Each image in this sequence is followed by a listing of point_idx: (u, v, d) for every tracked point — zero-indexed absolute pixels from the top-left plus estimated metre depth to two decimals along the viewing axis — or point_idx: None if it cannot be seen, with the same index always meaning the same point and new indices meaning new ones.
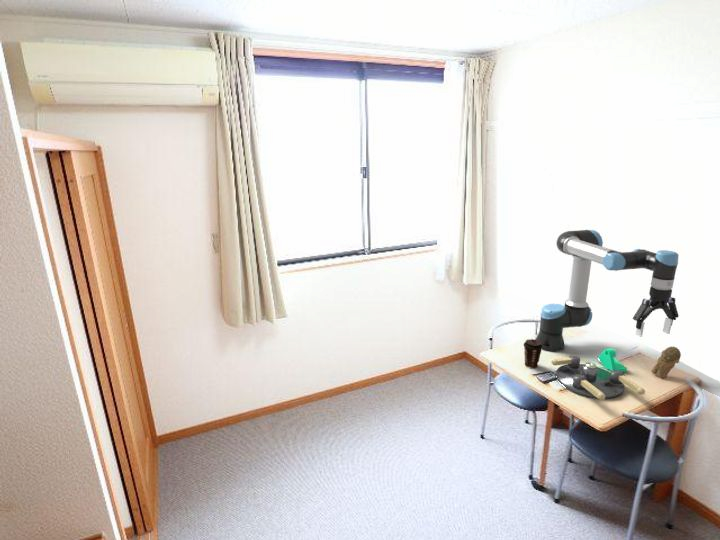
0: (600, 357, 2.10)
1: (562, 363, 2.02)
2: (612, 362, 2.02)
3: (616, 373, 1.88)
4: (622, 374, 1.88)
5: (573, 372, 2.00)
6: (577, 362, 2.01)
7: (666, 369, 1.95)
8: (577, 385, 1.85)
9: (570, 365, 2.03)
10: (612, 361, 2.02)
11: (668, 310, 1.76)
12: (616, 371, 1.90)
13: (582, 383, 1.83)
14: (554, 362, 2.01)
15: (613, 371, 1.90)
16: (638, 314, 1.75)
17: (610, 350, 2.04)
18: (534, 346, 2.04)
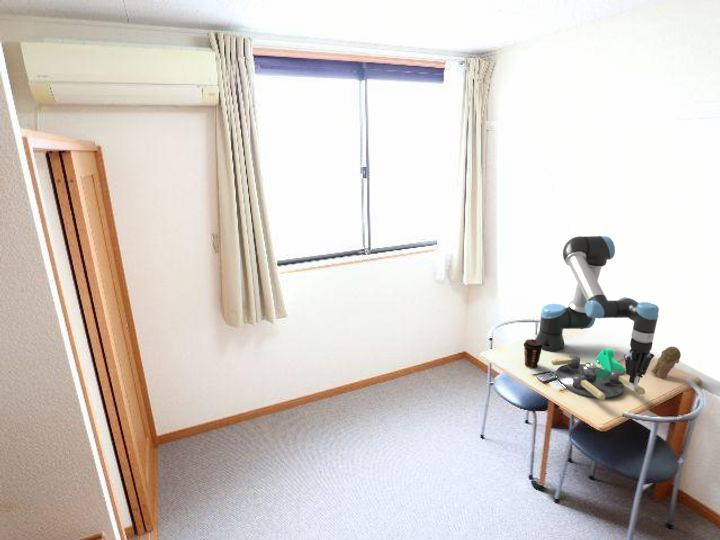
0: (598, 357, 2.10)
1: (562, 363, 2.02)
2: (610, 362, 2.02)
3: (616, 373, 1.88)
4: (622, 374, 1.88)
5: (573, 372, 2.00)
6: (577, 362, 2.01)
7: (666, 369, 1.95)
8: (577, 385, 1.85)
9: (570, 365, 2.03)
10: (610, 361, 2.02)
11: (642, 365, 1.75)
12: (616, 371, 1.90)
13: (582, 383, 1.83)
14: (554, 362, 2.01)
15: (613, 371, 1.90)
16: (628, 370, 1.75)
17: (608, 350, 2.04)
18: (534, 346, 2.04)
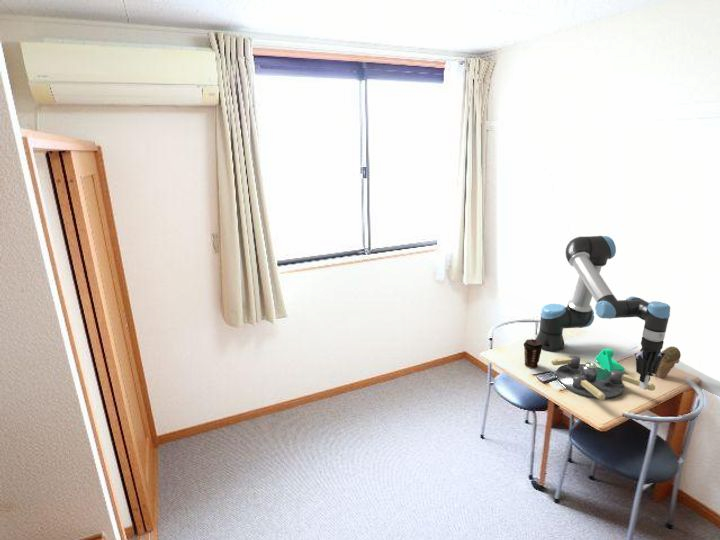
0: (598, 357, 2.10)
1: (562, 363, 2.02)
2: (610, 362, 2.02)
3: (617, 373, 1.88)
4: (622, 373, 1.88)
5: (573, 372, 2.00)
6: (577, 362, 2.01)
7: (666, 369, 1.95)
8: (577, 385, 1.85)
9: (570, 365, 2.03)
10: (610, 361, 2.02)
11: (652, 363, 1.75)
12: (615, 371, 1.90)
13: (582, 383, 1.83)
14: (554, 362, 2.01)
15: (613, 372, 1.90)
16: (639, 369, 1.76)
17: (608, 350, 2.04)
18: (534, 346, 2.04)
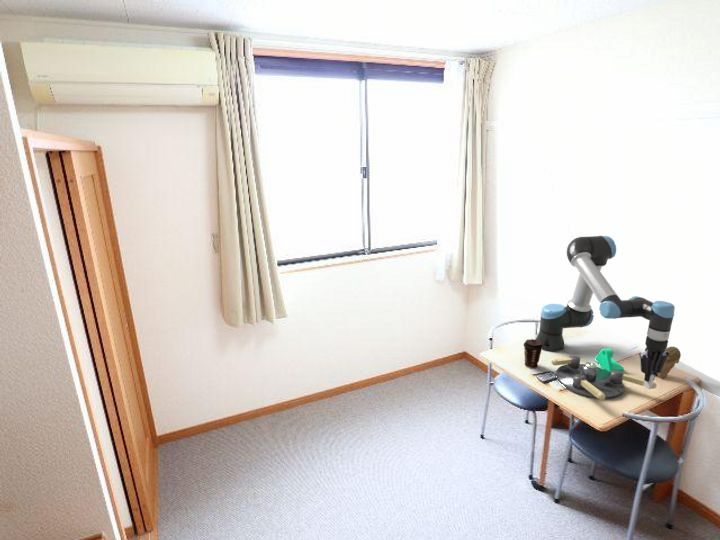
0: (597, 357, 2.10)
1: (562, 363, 2.02)
2: (609, 362, 2.02)
3: (618, 373, 1.88)
4: (622, 373, 1.89)
5: (573, 372, 2.00)
6: (577, 362, 2.01)
7: (666, 369, 1.95)
8: (577, 385, 1.85)
9: (570, 365, 2.03)
10: (609, 361, 2.02)
11: (657, 363, 1.76)
12: (614, 371, 1.90)
13: (582, 383, 1.83)
14: (554, 362, 2.01)
15: (613, 372, 1.89)
16: (643, 368, 1.76)
17: (607, 350, 2.04)
18: (534, 346, 2.04)
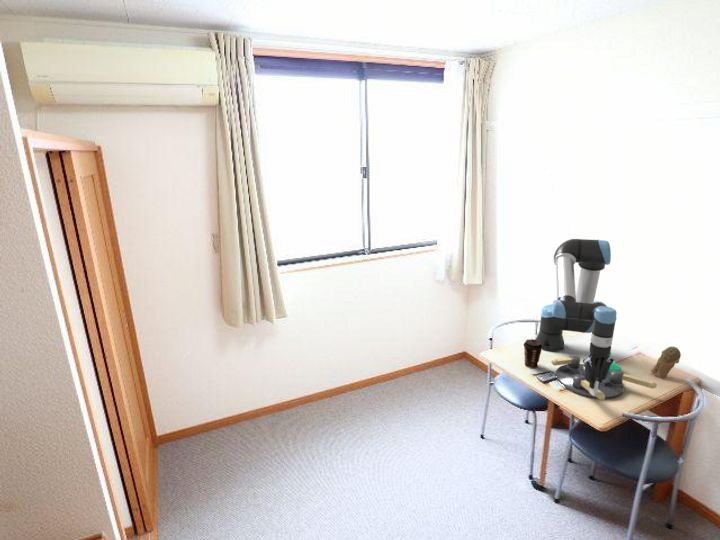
0: None
1: (562, 363, 2.02)
2: None
3: (618, 373, 1.88)
4: (622, 373, 1.89)
5: (573, 372, 2.00)
6: (577, 362, 2.01)
7: (666, 369, 1.95)
8: (577, 385, 1.85)
9: (570, 365, 2.03)
10: None
11: (601, 369, 1.72)
12: (614, 371, 1.90)
13: (582, 383, 1.83)
14: (554, 362, 2.01)
15: (613, 372, 1.89)
16: (587, 375, 1.72)
17: None
18: (534, 346, 2.04)
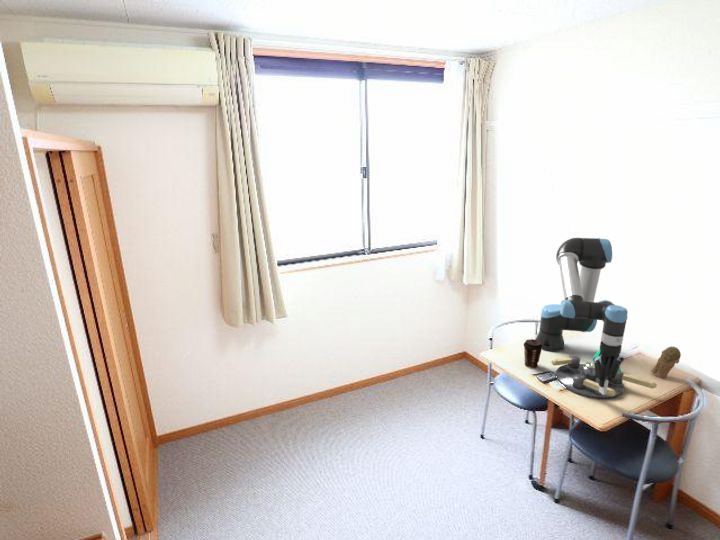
0: (595, 357, 2.10)
1: (562, 363, 2.02)
2: None
3: (618, 373, 1.88)
4: (622, 373, 1.89)
5: (573, 372, 2.00)
6: (577, 362, 2.01)
7: (666, 369, 1.95)
8: (580, 386, 1.85)
9: (570, 365, 2.03)
10: None
11: (611, 368, 1.72)
12: None
13: (586, 383, 1.83)
14: (554, 362, 2.01)
15: None
16: (597, 373, 1.73)
17: None
18: (534, 346, 2.04)
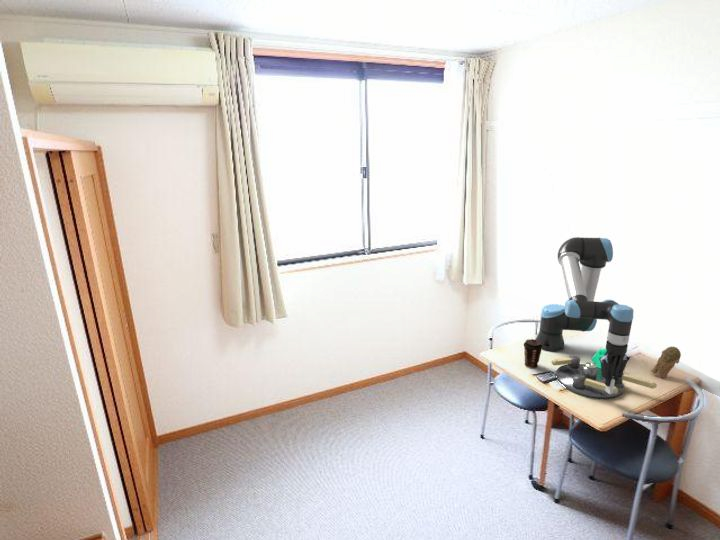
0: (594, 357, 2.10)
1: (562, 363, 2.02)
2: None
3: (618, 373, 1.88)
4: None
5: (573, 372, 2.00)
6: (577, 362, 2.01)
7: (666, 369, 1.95)
8: (581, 386, 1.85)
9: (570, 365, 2.03)
10: None
11: (617, 367, 1.73)
12: None
13: (587, 382, 1.83)
14: (554, 362, 2.01)
15: None
16: (604, 373, 1.73)
17: (604, 350, 2.04)
18: (534, 346, 2.04)
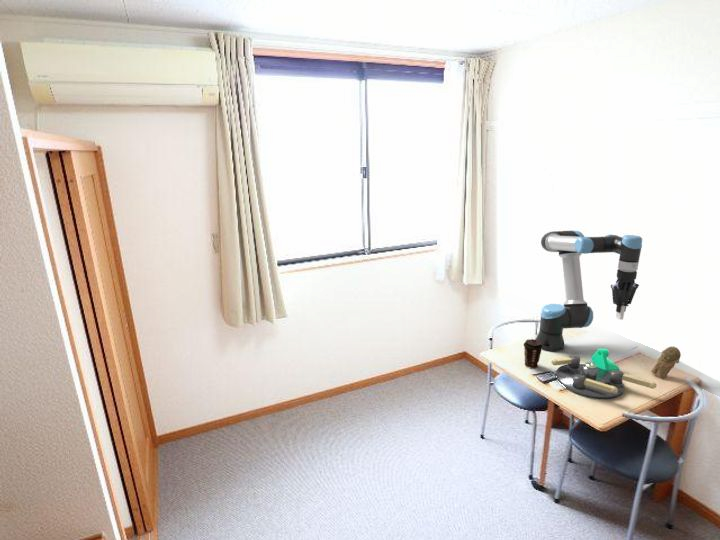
0: (593, 357, 2.10)
1: (562, 363, 2.02)
2: (605, 362, 2.02)
3: (618, 373, 1.88)
4: (622, 373, 1.89)
5: (573, 372, 2.00)
6: (577, 362, 2.01)
7: (666, 369, 1.95)
8: (581, 386, 1.85)
9: (570, 365, 2.03)
10: (605, 361, 2.02)
11: (627, 294, 1.88)
12: (614, 371, 1.90)
13: (587, 382, 1.83)
14: (554, 362, 2.01)
15: (613, 372, 1.89)
16: (615, 299, 1.89)
17: (603, 350, 2.04)
18: (534, 346, 2.04)
